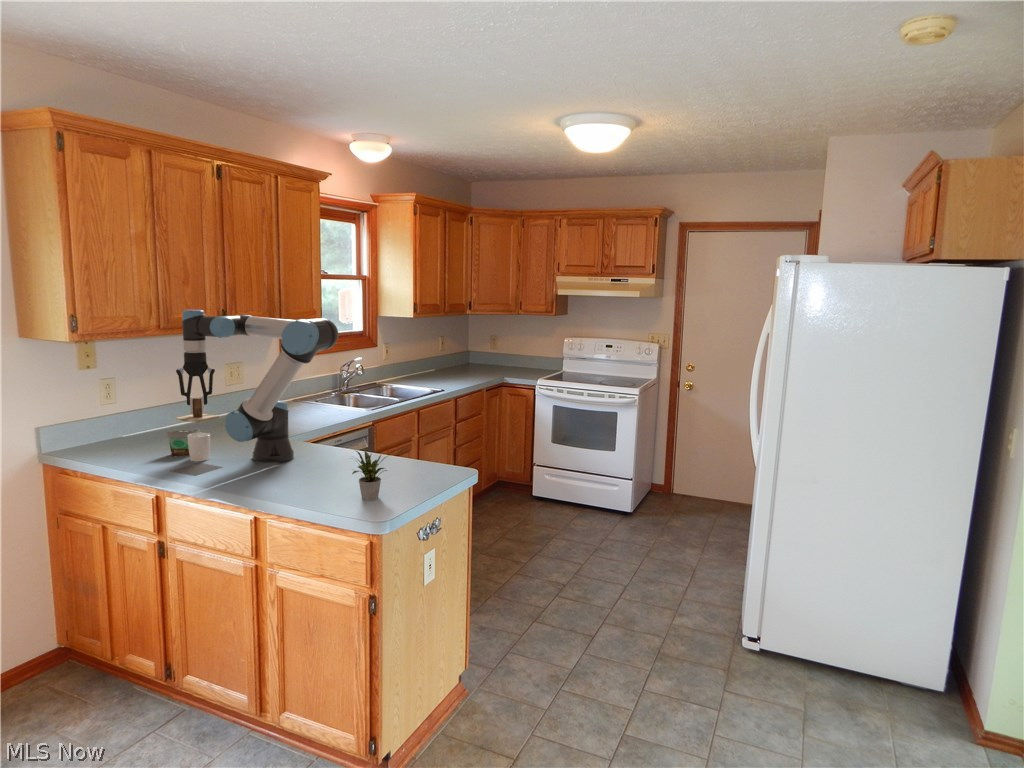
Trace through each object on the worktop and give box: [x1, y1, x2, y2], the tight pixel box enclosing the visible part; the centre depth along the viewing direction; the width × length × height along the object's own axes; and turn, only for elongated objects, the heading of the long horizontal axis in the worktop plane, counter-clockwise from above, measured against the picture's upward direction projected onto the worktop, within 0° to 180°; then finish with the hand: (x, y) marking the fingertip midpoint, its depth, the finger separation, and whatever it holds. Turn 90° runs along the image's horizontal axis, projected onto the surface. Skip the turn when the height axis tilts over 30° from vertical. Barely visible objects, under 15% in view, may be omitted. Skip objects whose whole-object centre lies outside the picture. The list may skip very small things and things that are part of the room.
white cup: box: [187, 432, 211, 462], centre depth 251 cm, size 8×8×10 cm
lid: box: [175, 397, 220, 424], centre depth 248 cm, size 10×10×8 cm
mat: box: [170, 462, 224, 477], centre depth 238 cm, size 13×13×1 cm
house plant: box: [350, 449, 391, 501], centre depth 212 cm, size 14×14×16 cm
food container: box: [166, 428, 202, 457], centre depth 256 cm, size 12×6×10 cm, turn 105°
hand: (197, 413), depth 248 cm, fingers closed on lid, 3 cm apart
